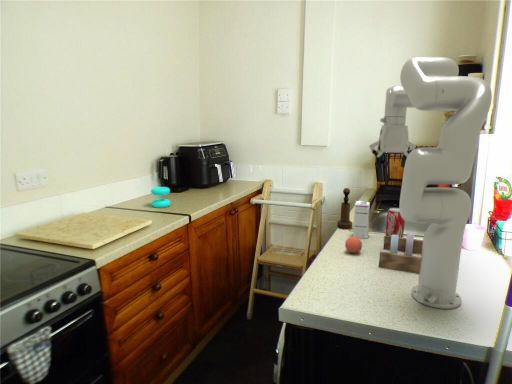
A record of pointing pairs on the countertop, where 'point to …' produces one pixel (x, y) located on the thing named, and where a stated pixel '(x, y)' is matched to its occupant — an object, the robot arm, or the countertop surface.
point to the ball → (353, 244)
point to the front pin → (394, 244)
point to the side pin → (409, 244)
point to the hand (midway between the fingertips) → (390, 167)
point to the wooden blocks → (401, 256)
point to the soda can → (394, 223)
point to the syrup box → (361, 219)
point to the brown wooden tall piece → (345, 212)
